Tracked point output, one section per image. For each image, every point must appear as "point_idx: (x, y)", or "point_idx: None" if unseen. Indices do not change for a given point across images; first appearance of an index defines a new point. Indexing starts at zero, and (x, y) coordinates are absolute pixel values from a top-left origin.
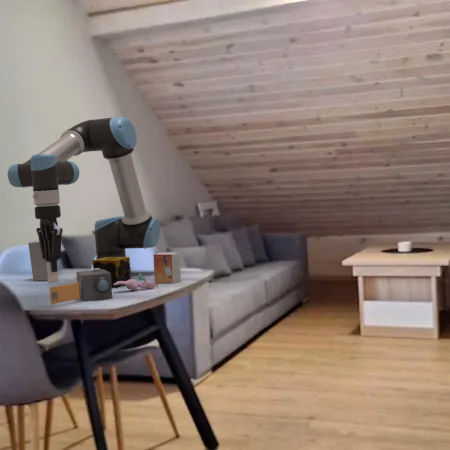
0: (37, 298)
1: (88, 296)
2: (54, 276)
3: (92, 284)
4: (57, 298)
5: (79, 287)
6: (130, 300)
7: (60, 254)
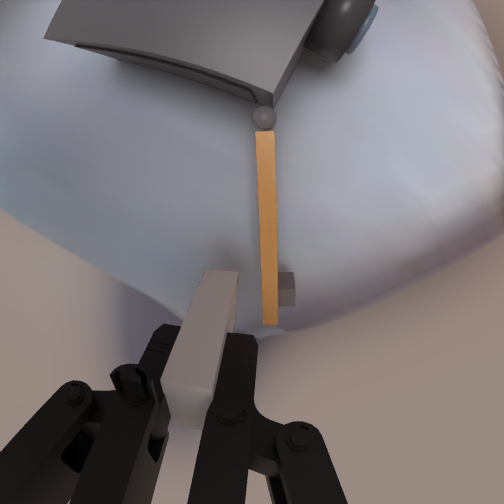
0: (40, 191)
1: (284, 85)
2: (231, 318)
3: (300, 49)
4: (293, 275)
5: (272, 126)
6: (449, 38)
7: (332, 468)
